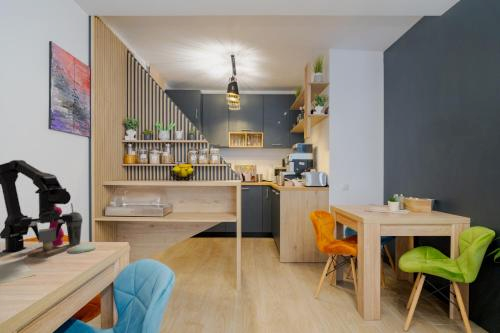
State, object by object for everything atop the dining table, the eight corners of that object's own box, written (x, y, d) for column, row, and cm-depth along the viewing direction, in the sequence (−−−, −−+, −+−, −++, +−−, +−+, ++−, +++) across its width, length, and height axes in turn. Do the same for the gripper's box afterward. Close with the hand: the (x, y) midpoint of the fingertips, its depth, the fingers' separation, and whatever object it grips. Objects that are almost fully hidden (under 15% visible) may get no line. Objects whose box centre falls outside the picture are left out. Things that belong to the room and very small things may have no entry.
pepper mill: (67, 242, 146) (66, 202, 146) (56, 246, 139) (55, 204, 139) (54, 242, 147) (53, 202, 147) (42, 246, 140) (41, 204, 140)
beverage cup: (86, 242, 145) (85, 202, 145) (73, 246, 138) (72, 204, 138) (75, 241, 148) (74, 202, 148) (62, 245, 141) (61, 203, 141)
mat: (61, 252, 129) (61, 251, 129) (80, 245, 140) (80, 244, 140) (83, 253, 127) (83, 252, 127) (100, 246, 137) (100, 245, 137)
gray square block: (39, 239, 129) (39, 229, 129) (55, 237, 132) (55, 227, 132) (38, 242, 124) (38, 232, 124) (56, 240, 128) (55, 230, 127)
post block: (27, 256, 124) (27, 238, 124) (48, 249, 134) (47, 233, 134) (47, 257, 123) (47, 239, 122) (66, 250, 132) (66, 233, 132)
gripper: (18, 207, 116) (18, 247, 116) (73, 203, 127) (73, 239, 127) (20, 204, 126) (21, 241, 126) (71, 201, 136) (72, 234, 136)
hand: (47, 239), depth 128 cm, fingers closed on gray square block, 6 cm apart
